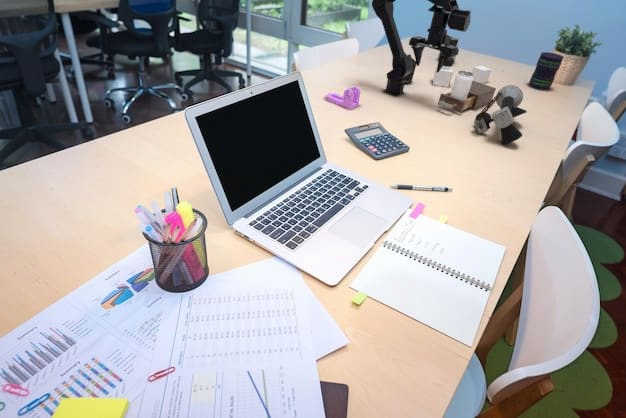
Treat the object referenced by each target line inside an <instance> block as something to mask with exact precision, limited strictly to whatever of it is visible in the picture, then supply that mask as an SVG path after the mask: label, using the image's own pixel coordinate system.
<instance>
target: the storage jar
mask: <svg viewBox="0 0 626 418" xmlns="http://www.w3.org/2000/svg"><path fill="white" fill-rule="evenodd" d="M564 58H565V57H564V56H563V55H561V54H559V53H555V52H541V53H540V56H539V57H538V60H537V62H536V67H535V68H534V71H533V73H532V75H531V76H530V79H529V82H528V87H530V88H531V89H535V90H537V91H550V89H551V87H552V85H553V83H554V80H555V77H556V75H557V72H558V71H559V69H560V67H561V65H562V62H563V60H564Z"/></svg>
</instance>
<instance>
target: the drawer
mask: <svg viewBox="0 0 626 418" xmlns="http://www.w3.org/2000/svg"><path fill="white" fill-rule="evenodd" d="M450 94H451V91H448V92H446V93H444V92H443V93H440V95H439V99H438V102H437V105H439V106H442V107H444V108H446V109H449V110H452V111H455V112H457V113H460V114H461V113H463V111H464V110H466V109H470V108H469V107H471V106H473V105H474V102H475V100H476V96H473V95H470V94H468V96H467V99H466V100H464V101H462V100H459V99H457V98H454V97H451V96H450Z"/></svg>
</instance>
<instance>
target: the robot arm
mask: <svg viewBox="0 0 626 418" xmlns="http://www.w3.org/2000/svg"><path fill="white" fill-rule="evenodd" d="M396 1H397V0H372V1H371V7H372V10H373V11H374V13H375V15H376V16H377V18H378V19H379V20H380V21H381V24H382V28H383V30H384V33H385V36H386V39H387V42H388V45H389V48H390V53H391V56H392V61H391V68H392V69H391V70H390V71H388V72H387V73H386V79H387V81H386V87H385V89H383V92H384V93H387V94H389V95H392V96H393V97H394V96H395V97H397V96H399V95H402V94H404V93H405V92H404V89H405V84H404V80H405V79H403V78H405V77H406V76H407V75H408V74H409V73H411V71H412V69H413V65H412V64H414V63H413V62H412V59H411V58H412V54H411V53H408V54H407V53H406V52H405V50H404V47H403V44H402V40H401V37H400V33H399V30H398V28H397V24H396V21H395V18H394V10H395V9H394V8H395V7H394V3H395V2H396ZM427 1H428V2H429V3H431V4H432V6H431V7H430V8H428V12H431V13H432V12H433V13H432V18H431V22H430V26H429V28H427V31H426V32H427V33H428V34H427V37H423V36H420V35H418V36H412V37H410V39H409V41H408V46H410V49H412V51H413V54H414V60H415V61H416V67H419V66H420V64H421V60H422V56H423V52H424V50H425V48H429V49H433V50H437V51H439V52H440V51H441V53H442V55H440V56H439V55H438V57H439V60H437V61H438V62H437V65H438V66H437V73H438V72H439V71H440V70H441V68H442V67H443V65H444V63H445V62H446V61H447V60H448V59H449V58H450V57H453V56H456V57H457V56H458V55H459V51H460V49H459V47H458V46H452V45H449V42H450V40H451V37H452V36H450V35H449V34H448V29H449V30H453V31H459V32H463V33H466V32H467V30H468V29H469V27H470V24H471V18H472V17H471V13H472V10H465V9H460V7H459V4H458V1H457V0H427ZM447 27H448V29H447ZM444 45H446V46H444Z"/></svg>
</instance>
